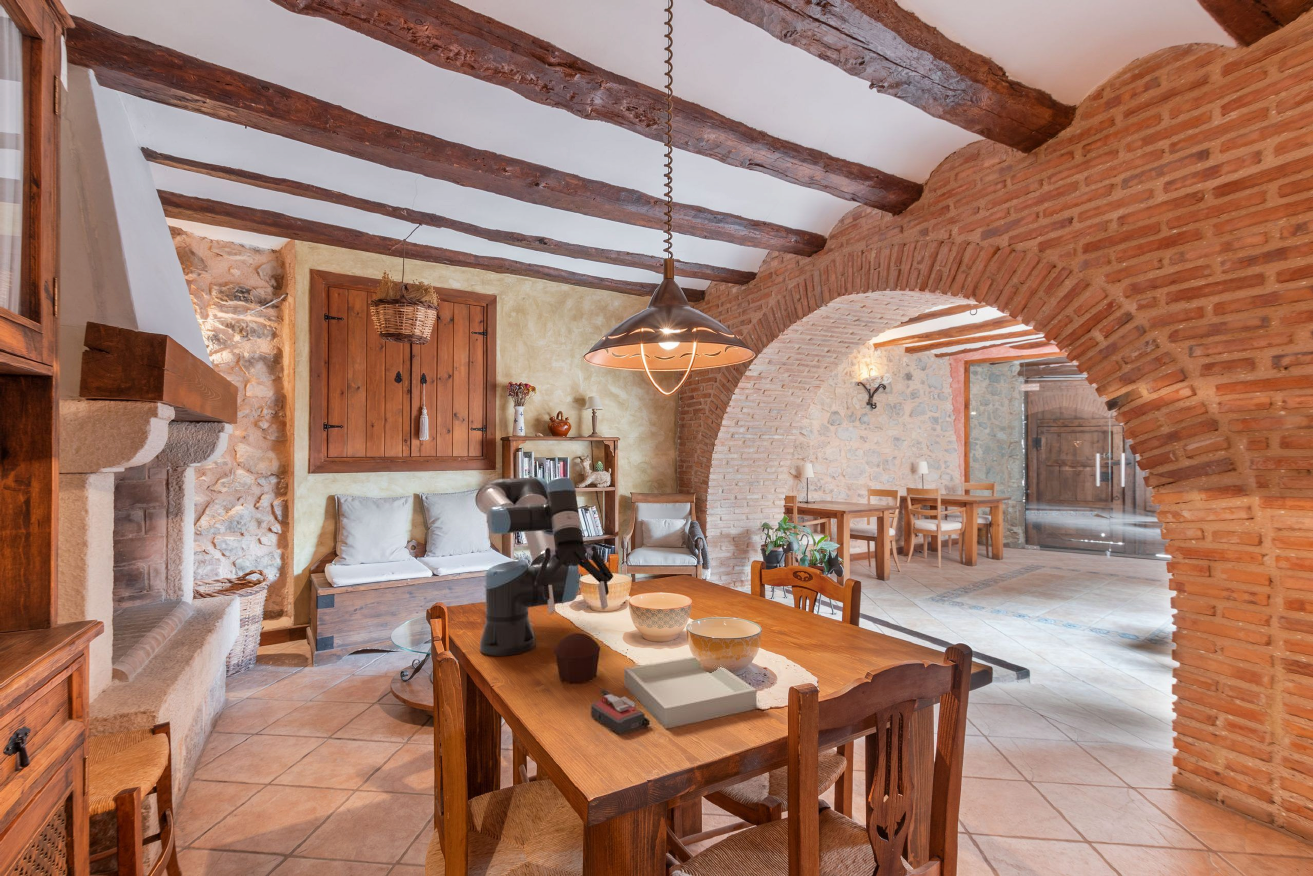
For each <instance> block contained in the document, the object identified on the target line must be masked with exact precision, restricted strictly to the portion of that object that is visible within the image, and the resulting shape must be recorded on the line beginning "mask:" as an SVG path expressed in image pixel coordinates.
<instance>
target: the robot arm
mask: <svg viewBox="0 0 1313 876" xmlns="http://www.w3.org/2000/svg"><path fill="white" fill-rule="evenodd" d="M474 498H475V499H474V500H475V506H476V507H477V508H478V510H479V512H481V513H482V514H484V515H487V525H488V529H489V532H490V534H493V535H506V534H513V533H514V534H515V533H524V536H525V538H526V544H527V546H528V549H529V553H530V557H531V562H530V565H529V564H528V562H527V561H525V560H511V561H506V562H502V563H499V564H496V565H493V566H491V567H490V568H489V569H488V570H487V571H486V573H485V581H484V583H485V584H484V588H485V624H484V626H483V630H482V634H481V636H480V640H479V651H480V652H481V653H482V654H484V655H488V656H493V657H494V656H496V657H501V656H502V657H503V656H504V657H505V656H514V655H520V654H523V653H526V652H528V651H530V650H532V649H533V648H535V646H536V636H535V631H534V629H533V626H532V624H531V621H530V619H529V608H532V607H541V606H542V607H543V606H547V607H548V615H553V614H554V613H555V611H556V606H555V605H558V604H561V605H562V604H565V603H570V602H573V601H575V600H576V598H577V597H578V593H579V588H580V570H579V566H580V567H581V568H583V569H584V570H585V571H587V572H588V573H589V574H590V576H592V578H594V579H595V580H596V581H597V582H598V585H597V588H598V597H599V601H600V608H601V611H604V610H606V608H608V606H609V604H608V599H607V596H608V595H609V593H610V591H609V585H608V583H609V582H610V581H612V579H613V578H614V575H613V573H612V571H611V570H610V568H609V567H608V566H607V565H606V564H607V563H605V561H604V560H603V559H602V557H601V556H600V554H599V553H598V549H597V546H596V545H593V546H591V547H589V548H587V547H585V544H584V542H585V541H584V536H583V531H582V525H581V517H580V513H579V512H580V511H579V505H578V499H577V490H576V488H575V482H574V481H573V479H571V478H570V477H568V476H567V477H566V476H562V477H561V476H560V477H554V478H552V479H551V480H549V481H546V479H545V478H543V477H540V476H539V477H535V476H530V477H518V478H517V477H516V478H515V477H513V478H498V479H497V478H496V479H492V480H490V481H488V482H486V483H484V484H483V485H482V486H480V488H479V489H478V490H477V492H476V495H475V497H474ZM586 555H588V557H590V559H591V561H592V562H593V563H592V562H591V561H590V560H589V558H588V557H587V556H586Z"/></svg>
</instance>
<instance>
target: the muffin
mask: <svg viewBox="0 0 1313 876" xmlns="http://www.w3.org/2000/svg"><path fill="white" fill-rule="evenodd" d="M600 650H601V646H600V645H599V644H598V642H596V640H595V639H594V638H593V637H592V636H591V635H588V634H587V633H579V632H577V633H572V634H569V635H567V636H565V637H563V638H562V639H561V640H560V641H559V643H558V644H557V646H556V647H555V648H554V650H553V655H554V656H555V659H556V666H557V671H558V677H559V679H560V682H561V681H562V683H565V682H566V684H569V685H576V684H578V685H581V684H585V683H588V682H591V681H593V680H594V679H595V678H596V677H597V674H598V673H597V672H598V666H599V658H600Z"/></svg>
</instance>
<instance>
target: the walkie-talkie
mask: <svg viewBox="0 0 1313 876" xmlns="http://www.w3.org/2000/svg"><path fill="white" fill-rule="evenodd" d="M600 693H601V694H603V696H601V699H600V700H596V701H594V702H593V703H591V704H590V716H592V717H591V718H592V719H594V718H595V719H594V720H596V721H597V720H598V722H599V723H600V722H601V723H600V724H601V725H602V726H605V727H606V726H607V727H608V728H607V727H606V728H607V729H609V728H610V729H611V731H612V730H613V731H614V733H615V732H616V733H618V734H624V735H626V734H625V733H627V734H629V733H632V732H634V731H637V730H640V729H643V728H645V727H647V726H650V722H651V721H650V719H649V718H647V717H645V713H644V712H642V711H641V710H639V709H638V708H636V703H635V701H633V700H631V699H629V698H628V697H627V696H622V697H620V696H617V695H615V694H614V693H612V692H610V691H608V690H606V689H605V688H602V689H601V690H600ZM610 729H609V730H610ZM613 731H612V732H613ZM631 731H632V732H631ZM616 733H615V734H616ZM618 734H617V735H618Z"/></svg>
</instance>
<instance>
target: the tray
mask: <svg viewBox="0 0 1313 876" xmlns="http://www.w3.org/2000/svg"><path fill="white" fill-rule="evenodd" d="M695 656H696V655H695ZM695 656H694V655H692V656H687V657H682V658H676V659H669V660H662V661H658V662H653V663H647V664H642V665H641V664H640V665H635V666H629V667H624V668H623V670H624V671H623V675H624V676H623V677H624V678H623V679H624V683H623V684H624V687H625V688H626V689H627V690H628V691H629V692H630V693H631V694H632V695H633V696H634V697H635V698H636V699H637V700H638V701H639V703H640V704H641V705H643V707H644V708H645V709H646V710H647V711H648V712H649V714H650V715H652V716H653V717H654V718H655V719H656V720H657V721H658V722H659V724H660V725H662V727H663V728H664V729H671V728H676V727H680V726H685V725H690V724H694V723H699V722H703V721H707V720H708V721H709V720H712V719H717V718H721V717H725V716H731V715H734V714H739V713H743V712H749V711H752V710H753V711H754V710H757V708H758V706H757V705H758V704H757V703H758V702H757V701H758V700H757V689H756V688H754V687H753V686H752V685H750V684H749V683H747V682H745V681H744V680H743V679H742V678H740V677H738V676H737V675H736V674H734V673H732V672H730V671H729V670H728V669H726V668H725V667H723V666H722V667H723V668H722V667H720V668H719V667H718V669H717V670H716V671H714V672H712V673H709V672H706V671H704V670H703V669H702V667H701V664H700V663H699V662H698V660H697V659H696V658H695Z"/></svg>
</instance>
